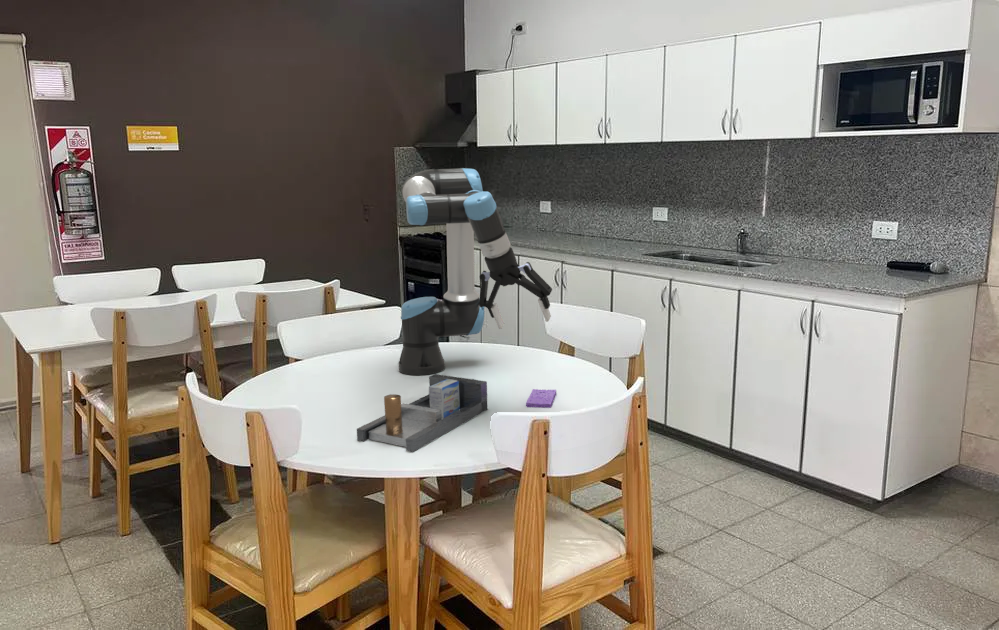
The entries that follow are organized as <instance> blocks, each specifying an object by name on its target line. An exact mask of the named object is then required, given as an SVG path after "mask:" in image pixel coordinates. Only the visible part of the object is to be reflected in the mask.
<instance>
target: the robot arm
mask: <svg viewBox="0 0 999 630" xmlns="http://www.w3.org/2000/svg"><path fill="white" fill-rule="evenodd" d="M401 193H402V197H403V200H404V202H405V203H406V205H405V208H406V209H405V210H406V218H407V219H406V220H407V223H408V224H409V225H413V226H424V225H426V226H427V225H443V224H446V225H445V227H446V257H447V259H446V260H447V261H446V263H447V291H446V292H445V293H444V294H443V300H438V299H437V297H435V296H423V297H417V298H412V299H410V300H407V301H405V302H404V303H403V304H402V306H401V307H400V308H401V309H400V311H401V313H400V320H401V331H402V332H401V333H402V335H401V336H402V349H401V354H400V358H399V360H398V372H399V373H401V374H404V375H410V376H425V375H434V374H438V373H440V372H442V371H444V370H445V368H446V364H445V359H444V356H443V354H442V351H441V348H440V344H439V338H443V337H458V336H459V337H461V336H466V337H467V336H471V335H478V334H479V333H480V332H481V331H482V329H483V325H484V321H485V308H487V311H488V312H489V315H490V317H491V318H492V319H494V321H495V323H496V325H497V328H498V330H502V329H503V327H504V325H505V321H504V319H503V317H502V314H501V311H500V308H499V306H498V304H497V302H495V299H496V296H497V294H498V291H499V289H500V287H501V286H502V287H507V286H513V285H517V286H520V287H522V288H524V289H525V290H527V291H529V292H530V293H531V294H533V295H535V296H536V297H537V298H538V299H537V301H538V304H539V307H540V310H541V313H542V315H543V319H544V321H545V323H548V322H549V321H550V319H551V317H552V314H551V313H550V310H549V308H550V307H551V304H550V300H549V297H548V296H550V295H551V293H552V291H553V288H552V287H551V285H549V284H548V282H547V281H546V280H545V279H543V278H542V276H541V275H539V273H538V272H537V271H535V270H534V269H533V266H532V264H531V262H529V261H527V262H525V263H524V264H522V265H519V264H518V261H517V258H516V255H515V252H514V250H513V248H512V247H511V246H512V244H511V242H510V239H509V237H508V234H507V231H506V229H505V227H504V224H503V221H502V218H501V215H500V213H499V210H498V207H497V203H496V201H495V200H494V198H493V195H492V194H491V192H489V191H484V190H483V184H482V180H481V177H480V174H479V172H478V171H477V170H476V168H475V169H474V168H467V167H465V168H464V167H460V168H458V167H457V168H456V167H455V168H440V169H439V168H437V169H435V168H434V169H433V168H431V169H425V170H421V171H418V172H416V173H414V174H412V175H411V176H410V177H408V178H407V179H406V180H405V181H404V183H403V185H402V189H401ZM475 238H476V240H477V243H478V246H479V249H480V250H481V253H482V256H483V257H484V261H485V264H486V266H487V269H488V271H487V270H483V271H482V272H481V273H480V275H479V280H480V283H481V284H480V293H478V292H477V291H476V290H475ZM522 272H523V273H522ZM525 275H526V276H525ZM526 277H527V278H526ZM490 278H491V280H493V281H495V282H494V284H493V287H492V290H491V293H490V295H489V297H487V296H488V291H489V289H488V288H489V280H490ZM528 278H529V279H528ZM487 298H488V300H487Z"/></svg>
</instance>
